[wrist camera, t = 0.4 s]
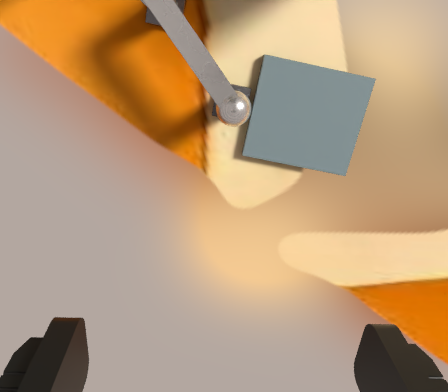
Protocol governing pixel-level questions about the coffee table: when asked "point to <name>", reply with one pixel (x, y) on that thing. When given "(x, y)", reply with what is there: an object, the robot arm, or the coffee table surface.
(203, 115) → the coffee table surface
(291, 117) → the slate mat
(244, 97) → the bent rail
